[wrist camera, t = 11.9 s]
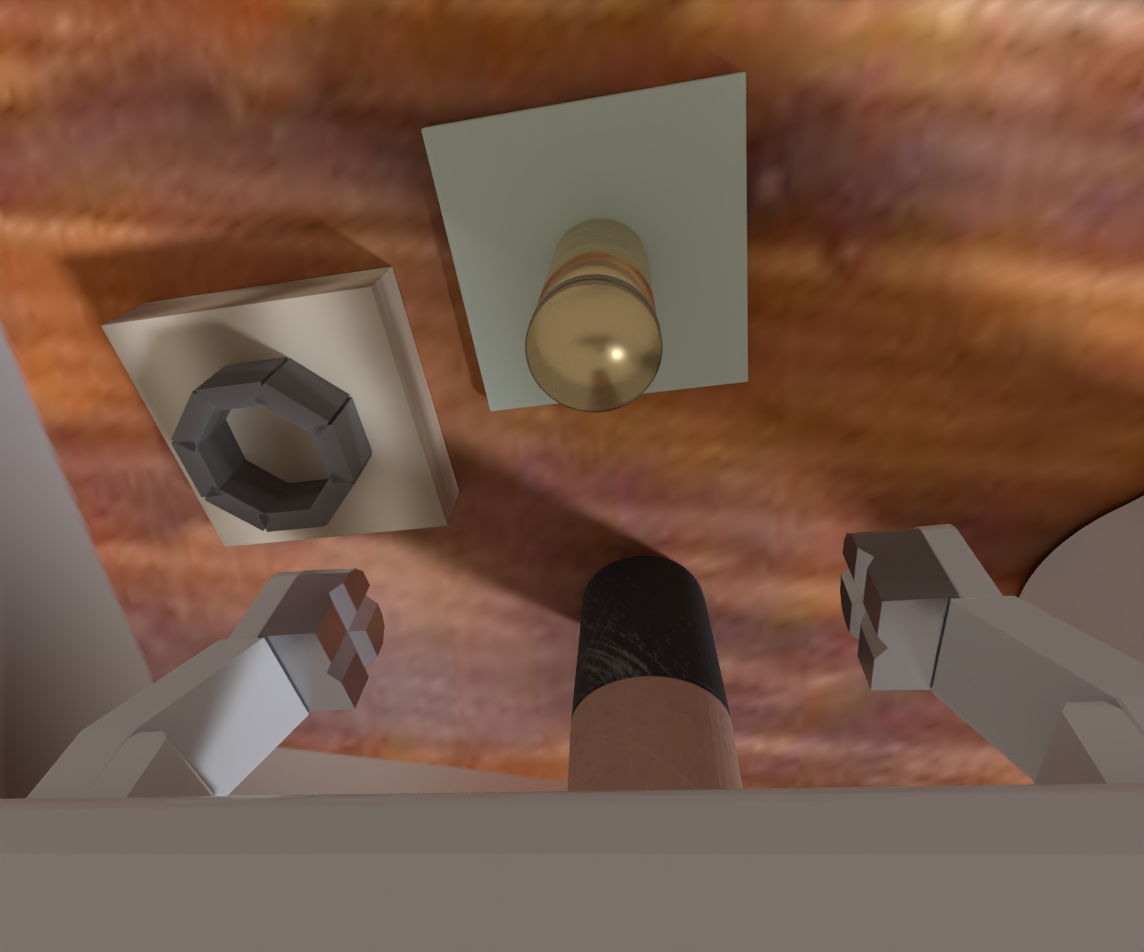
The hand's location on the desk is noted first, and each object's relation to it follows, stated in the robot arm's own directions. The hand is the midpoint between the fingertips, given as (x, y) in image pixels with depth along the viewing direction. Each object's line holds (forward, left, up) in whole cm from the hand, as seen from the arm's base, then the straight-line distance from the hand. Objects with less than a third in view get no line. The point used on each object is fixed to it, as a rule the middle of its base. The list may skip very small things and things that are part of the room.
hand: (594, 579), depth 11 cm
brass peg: (0, 0, -19) cm, 19 cm away
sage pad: (0, 0, -20) cm, 20 cm away
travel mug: (0, +20, -20) cm, 28 cm away
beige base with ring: (+15, +5, -20) cm, 26 cm away
